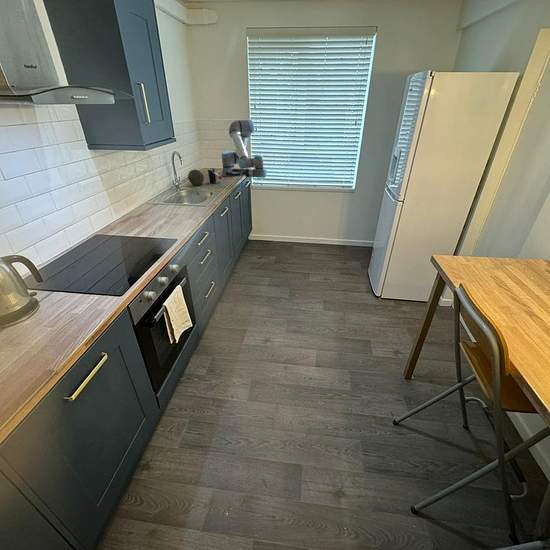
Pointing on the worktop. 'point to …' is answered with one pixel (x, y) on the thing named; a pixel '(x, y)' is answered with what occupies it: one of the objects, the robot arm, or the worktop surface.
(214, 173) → the lever
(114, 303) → the worktop surface
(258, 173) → the robot arm
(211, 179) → the switch bracket
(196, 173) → the cantaloupe
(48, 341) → the worktop surface
